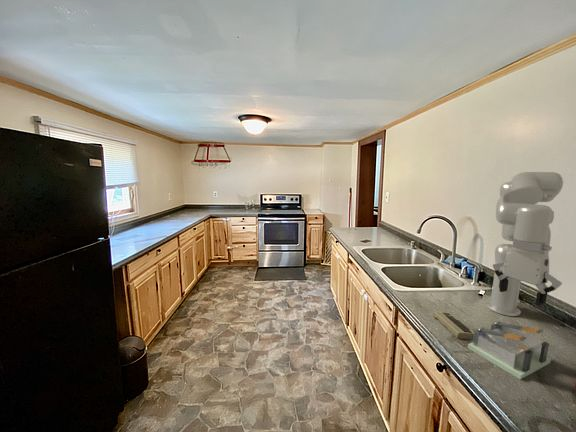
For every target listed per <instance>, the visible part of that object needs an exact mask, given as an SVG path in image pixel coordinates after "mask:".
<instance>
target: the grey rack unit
mask: <svg viewBox="0 0 576 432" xmlns="http://www.w3.org/2000/svg"><path fill="white" fill-rule="evenodd" d="M499 322H500V323H502V322H501V321H499ZM483 328H484V327H483ZM484 329H486V328H484ZM490 330H492V331H498V332H503V333H509V334H514V335H519V336H524V337H526V339H525V340H523V341H519V340H515V339H510V338H505V337H501V336H496V335H492V334H487V333H482V332H479V331H478V329H477V330H476V329H475V330H474V331H473V332H474V338H472V340H473V345H475V346H477V348H478V349H480V350H482V351H483V352H485V353H487V354H489V355H490V356H492V357H494V358H495V359H497V360H499V361H501V362H502V363H504V364H506V365H508V366H509V367H511V368H513V369H514V368H516V367H518V366H520V365H522V364H523V368H522V371H524V372H526V371H528V370H529V369H530V364H531V359H533V358H535V357H537V356H539V355H540V359H539V362H541V363H543V362H545V361H546V358H547V357H548V352H549V346H550V343H548V342H547V341H544V342H543V341H541V340H538V339H535V338H534V337H532V336H529V335H527V334H525V333H523V332H521V331H518V329H512V328H507V327H501V326H496V325H494V323H491V325H490Z"/></svg>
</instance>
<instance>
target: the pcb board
mask: <svg viewBox="0 0 576 432" xmlns="http://www.w3.org/2000/svg"><path fill="white" fill-rule="evenodd" d="M467 349H469V350H470V351H472V352H473V353H475V354H477V355H479V356H481V358H484V359H485V360H487V361H488V362H491V363H492V364H493V365H495V366H497V367H498V368H501V370H503V371H505V372H506V373H509V374H510V375H512V376H514V377H515V378H517V379H519V380H522V379H523V378H526V377H527V376H529V375H531V374H533V373H535V372H537V371H538V370H540V369H542V368H544V367H545V366H547V365H550V364H551V361H552V358H550V357H548V356H547V358H546V361H545V362H543V363H541V362H539V359H540V355H539V356H537V357H535V358H533V359H531V364H530V369H529V370H528V371H526V372H524V371H522V368H523V364H522V365H520V366H518V367H516V368H514V369H513V368H511V367H509V366H508V365H506V364H504V363H502V362H501V361H499V360H497V359H495V358H494V357H492V356H490V355H489V354H487V353H485V352H483V351H482V350H480V349H478V348H477V346H475V345H473V342H470V343H468V344H467Z"/></svg>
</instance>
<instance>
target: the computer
mask: <svg viewBox="0 0 576 432" xmlns="http://www.w3.org/2000/svg"><path fill="white" fill-rule="evenodd" d="M432 317H433V318H434V319H435V320H438V321H439V323H440V325H442V326H443V327H444V328H445V329H446V330H447V331H448V332H450V334H452V335H453V336H454V337H455V338H456V339H457V340H459V339H460V340H465V339H474V332H475V331H473V330H472V329H471V328H469V327H468V325H466V324H465V323H464V322H462V321H461V320H460V319H458V317H456V316H455V315H454V314H452V313H451V312H450V311H448V312H447V311H440V310H439V311H434V312H433V315H432Z"/></svg>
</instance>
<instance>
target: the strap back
mask: <svg viewBox="0 0 576 432" xmlns="http://www.w3.org/2000/svg"><path fill="white" fill-rule="evenodd" d="M500 322H501V321H496V322H495V323H493V324H494V325H496V326H501V327H507V328H512V329H515V330H517V331H518V330H520V331H524V332H530V333H535V334H541V333H542V332H544V330H543V329H541V328H536V327H531V326H530V327H529V326H524V325H523V326H522V325H517V324H510V323H505V322H501V323H500Z"/></svg>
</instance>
